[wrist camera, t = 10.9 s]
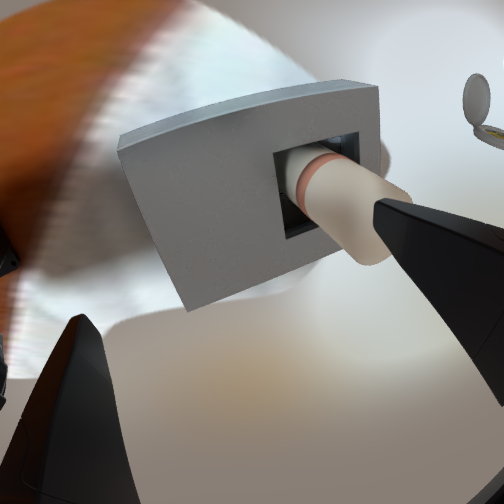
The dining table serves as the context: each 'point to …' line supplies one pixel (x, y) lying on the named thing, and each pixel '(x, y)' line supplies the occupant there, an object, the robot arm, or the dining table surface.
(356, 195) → the coin roll
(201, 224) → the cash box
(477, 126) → the pocket watch
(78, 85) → the dining table surface
